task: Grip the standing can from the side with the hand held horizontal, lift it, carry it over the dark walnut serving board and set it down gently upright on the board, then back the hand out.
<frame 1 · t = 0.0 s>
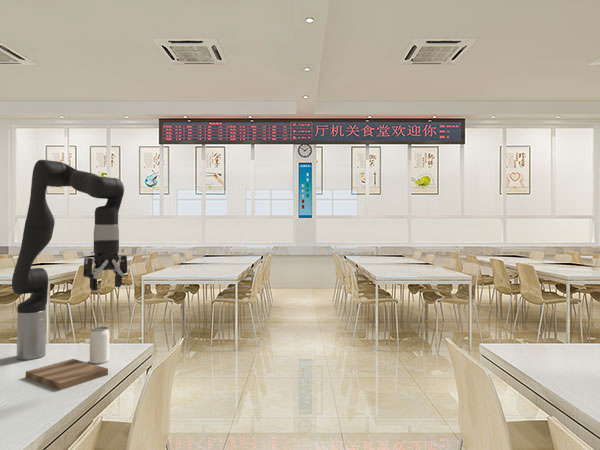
hand: (106, 288, 141), 29 cm above the table, tool pointing down, fingers open, 8 cm apart
serving board: (67, 376, 143), on the table
can: (99, 362, 159), on the table
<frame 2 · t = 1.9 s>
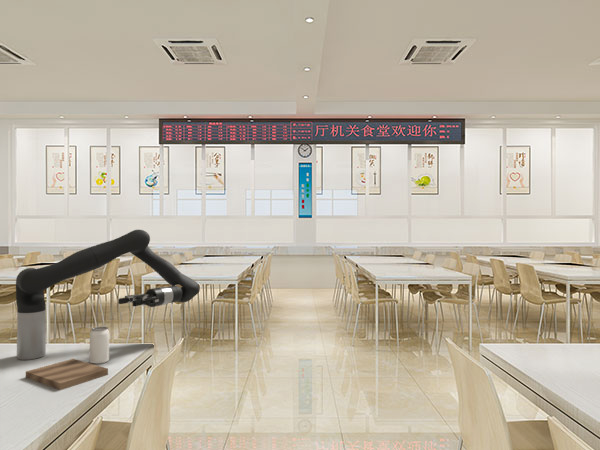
hand: (125, 302, 168), 20 cm above the table, tool horizontal, fingers open, 8 cm apart
nothing on the table moved.
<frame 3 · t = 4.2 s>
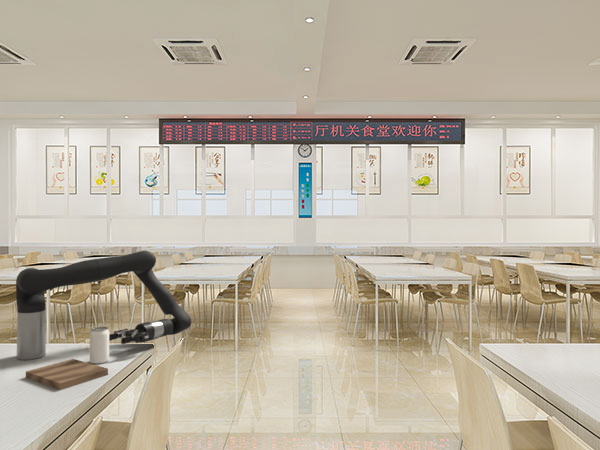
hand: (114, 339, 164), 7 cm above the table, tool horizontal, fingers open, 8 cm apart
nothing on the table moved.
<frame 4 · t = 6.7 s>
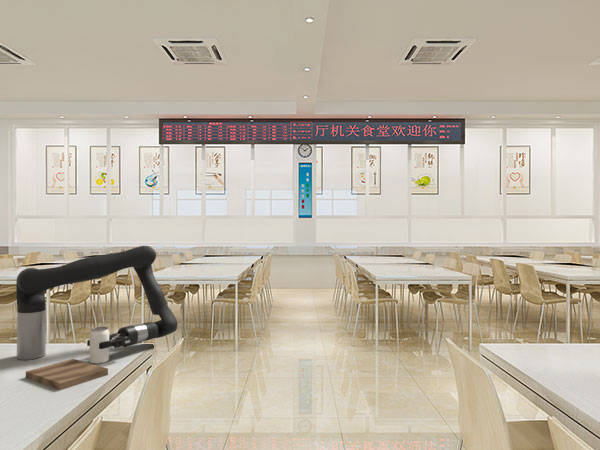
hand: (93, 344, 157), 7 cm above the table, tool horizontal, fingers closed on can, 6 cm apart
can: (99, 361, 159), on the table, touching gripper
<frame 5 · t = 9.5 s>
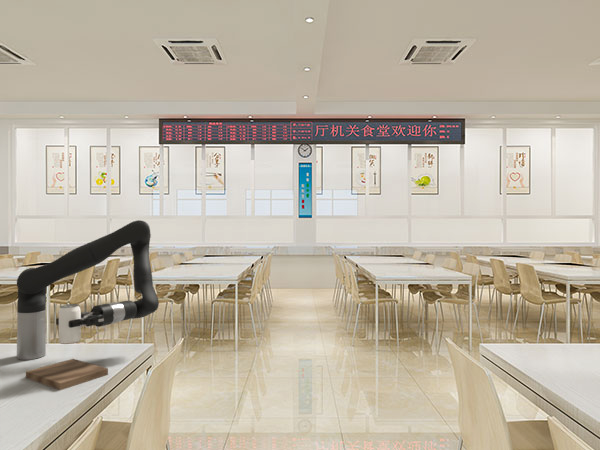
hand: (63, 323, 142), 18 cm above the table, tool horizontal, fingers closed on can, 6 cm apart
can: (69, 342, 144), point 11 cm above the table, touching gripper
when the fingers open (10 cm above the table, at t = 12.5 s): can drops 1 cm, resting on serving board.
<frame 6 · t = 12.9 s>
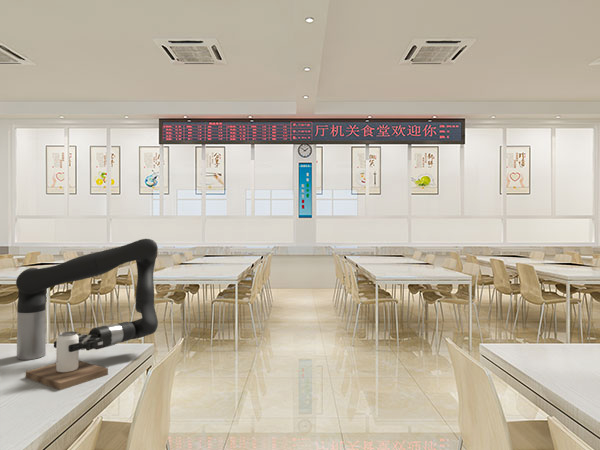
hand: (61, 346, 142), 10 cm above the table, tool horizontal, fingers open, 8 cm apart
can: (67, 370, 143), point 2 cm above the table, touching serving board
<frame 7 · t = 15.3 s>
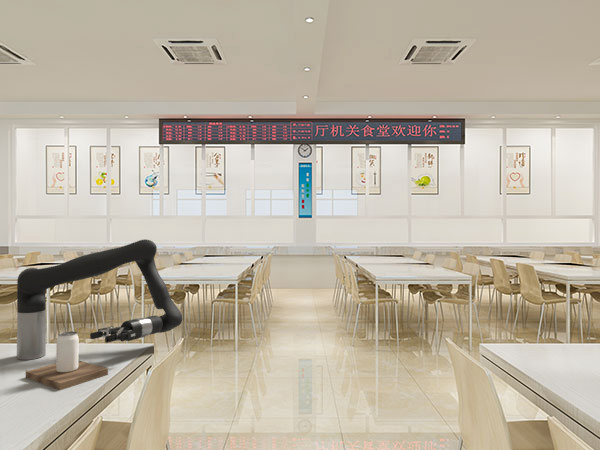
hand: (98, 338, 153), 10 cm above the table, tool horizontal, fingers open, 8 cm apart
nothing on the table moved.
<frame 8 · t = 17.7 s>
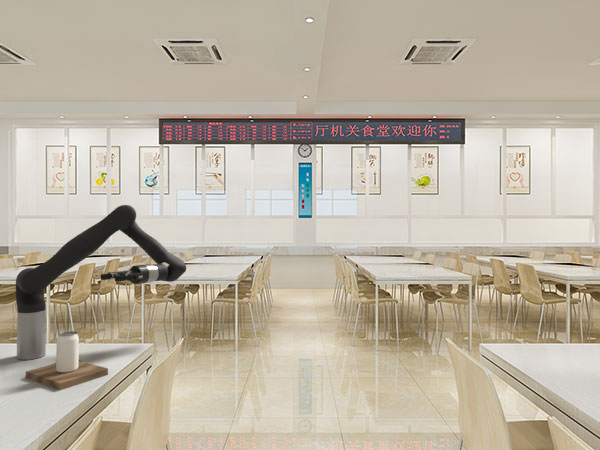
hand: (108, 278, 163), 30 cm above the table, tool horizontal, fingers open, 8 cm apart
nothing on the table moved.
at the end: can inside the target area on the serving board (0.1 cm from its centre), point 1.8 cm above the serving board's base; can tilted 0°; the gripper is holding nothing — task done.
